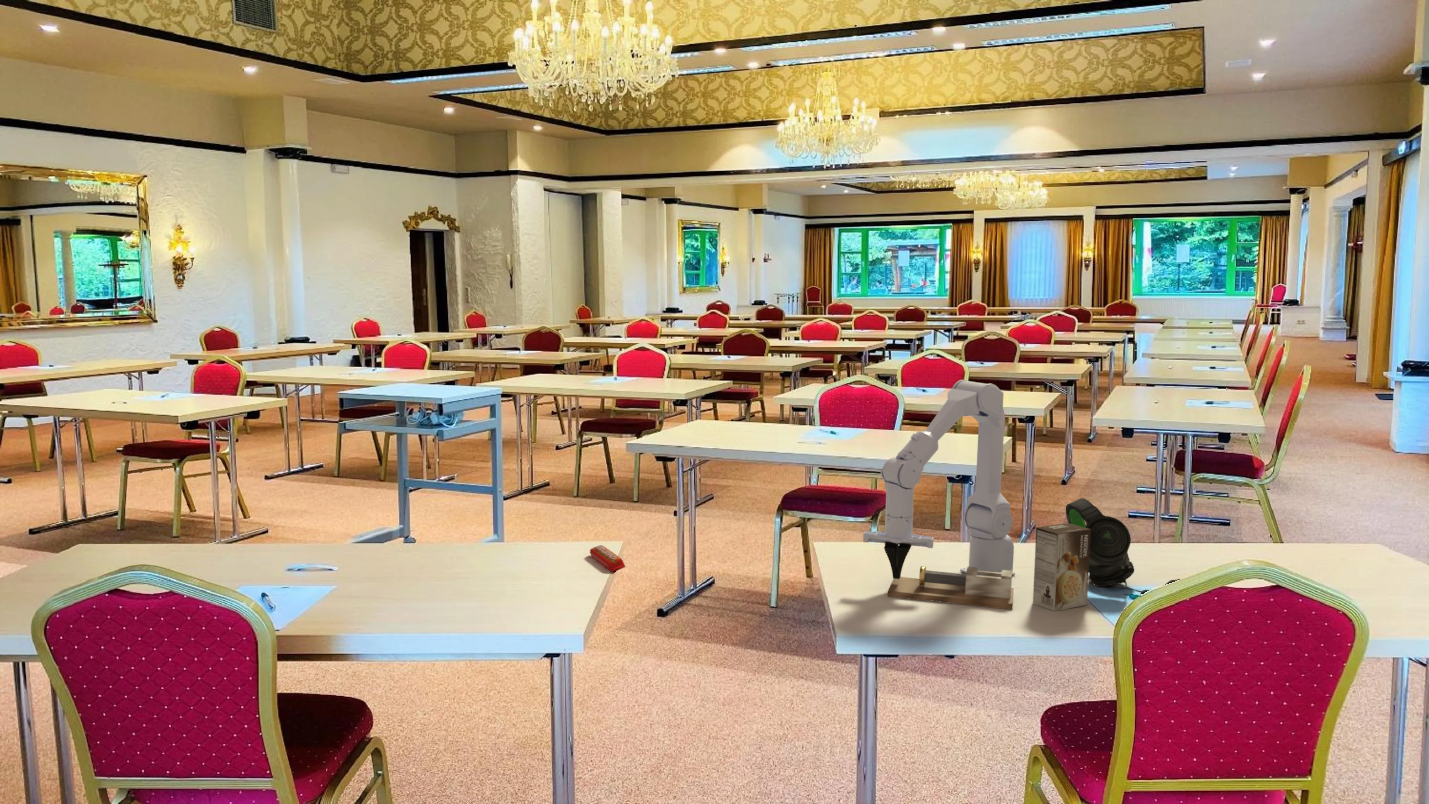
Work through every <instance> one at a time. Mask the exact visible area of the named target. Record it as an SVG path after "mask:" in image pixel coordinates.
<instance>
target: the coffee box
mask: <svg viewBox="0 0 1429 804" xmlns="http://www.w3.org/2000/svg"><path fill="white" fill-rule="evenodd" d="M1035 529H1036V530H1035V544H1034V545H1035V550H1034V567H1033V568H1034V570H1033V571H1034V573H1033V592H1032V594H1033V595H1032V603H1033V604H1036V605H1038V606H1040V607H1044V608H1046V609H1048V610H1052V611H1053V612H1058V611H1063V610H1067V609H1072V608H1078V607H1083V606H1087V605H1088V588H1089V553H1090V532H1091V529H1088V528H1084V527H1080V526H1077V525H1073V524H1069V523H1068V522H1065V523H1059V524H1058V523H1057V524H1052V525H1044V526H1037V527H1035Z"/></svg>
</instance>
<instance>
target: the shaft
mask: <svg viewBox="0 0 1429 804" xmlns="http://www.w3.org/2000/svg"><path fill="white" fill-rule="evenodd" d="M918 579H919V585H922V586H925V582H928V583H938V584H948V585H958V586H966V573H957V572H946V571H937V570H927V567H926V566H922V565H921V566H920V569H919V578H918Z"/></svg>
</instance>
